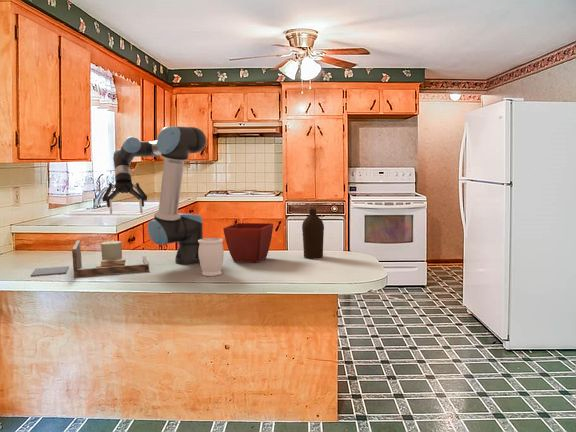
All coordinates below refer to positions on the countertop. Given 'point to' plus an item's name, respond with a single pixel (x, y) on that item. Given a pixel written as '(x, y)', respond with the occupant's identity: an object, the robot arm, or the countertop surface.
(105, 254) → the can
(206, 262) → the jar
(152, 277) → the countertop surface
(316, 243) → the olive oil
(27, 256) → the countertop surface
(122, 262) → the offcut stack
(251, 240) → the plant pot
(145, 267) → the rack
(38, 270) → the mat
